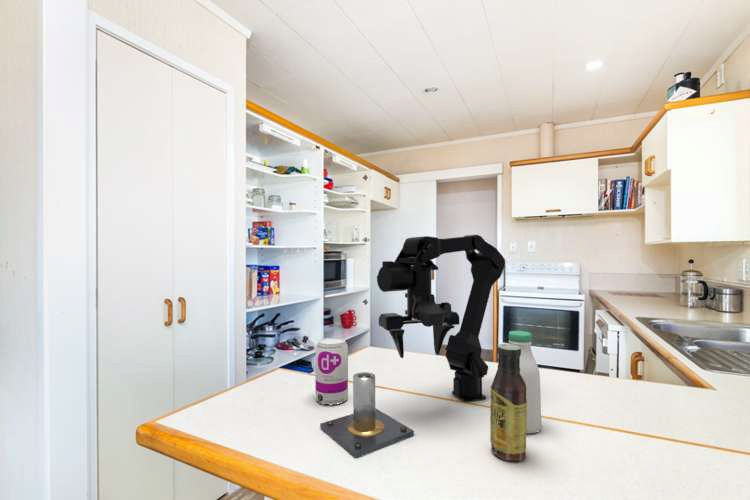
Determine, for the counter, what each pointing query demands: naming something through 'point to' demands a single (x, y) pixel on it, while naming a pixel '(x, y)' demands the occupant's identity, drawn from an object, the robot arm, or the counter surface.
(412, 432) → the flange plate
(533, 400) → the milk bottle
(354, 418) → the sleeve
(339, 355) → the supplement can
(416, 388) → the counter surface
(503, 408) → the sauce bottle
